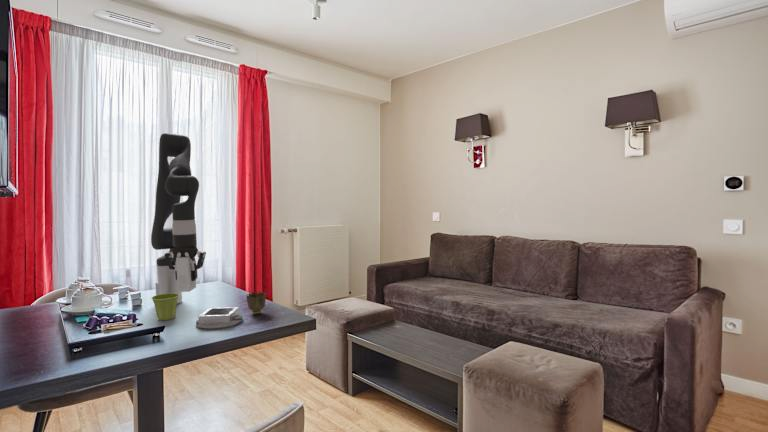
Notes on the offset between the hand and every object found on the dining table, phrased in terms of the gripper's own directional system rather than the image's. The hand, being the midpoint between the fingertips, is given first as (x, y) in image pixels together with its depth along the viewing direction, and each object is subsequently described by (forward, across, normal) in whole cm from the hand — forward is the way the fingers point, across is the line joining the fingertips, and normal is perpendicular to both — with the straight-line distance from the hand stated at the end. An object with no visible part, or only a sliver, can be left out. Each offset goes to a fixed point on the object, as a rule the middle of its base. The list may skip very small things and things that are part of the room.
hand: (186, 280), depth 147 cm
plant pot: (+17, +14, -13) cm, 26 cm away
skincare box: (+4, 0, 0) cm, 4 cm away
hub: (+17, -9, -5) cm, 20 cm away
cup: (+17, -20, -16) cm, 31 cm away
